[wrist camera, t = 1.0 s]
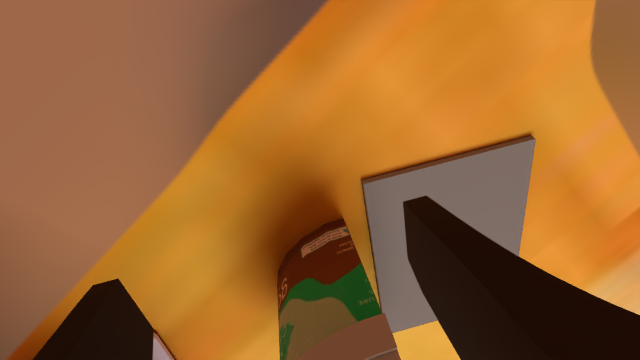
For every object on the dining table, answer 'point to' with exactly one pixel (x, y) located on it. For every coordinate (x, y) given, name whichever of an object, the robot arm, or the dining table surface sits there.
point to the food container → (330, 302)
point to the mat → (458, 198)
